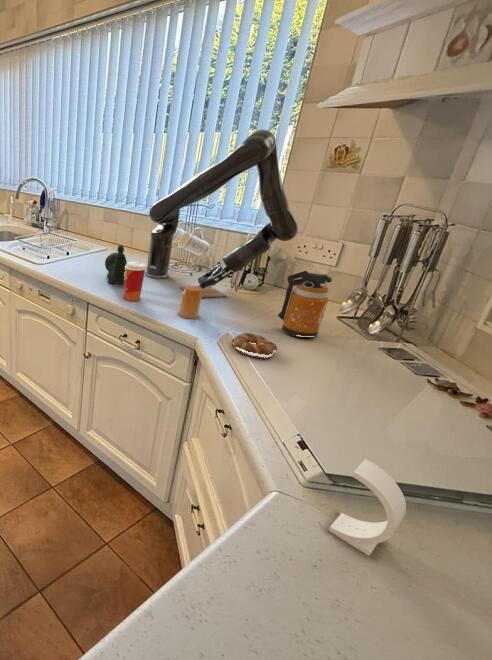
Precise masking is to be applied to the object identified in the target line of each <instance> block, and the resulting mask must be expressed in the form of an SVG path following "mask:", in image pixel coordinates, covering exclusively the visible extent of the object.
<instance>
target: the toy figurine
mask: <svg viewBox="0 0 492 660" xmlns="http://www.w3.org/2000/svg"><path fill="white" fill-rule="evenodd" d="M124 252H125V247H124V245H122V244H118V245H117V252H112V253H110V254H109V255H108V256H106V258H105V261H104V266H105V269H106V271H107V274H106V278H107V283H109V284H111V285H115V284H119V285H121V286H122V285H125V271H126V268H125V266H126V264H127V263H128V262H127V258H126V255H125V253H124Z"/></svg>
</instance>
